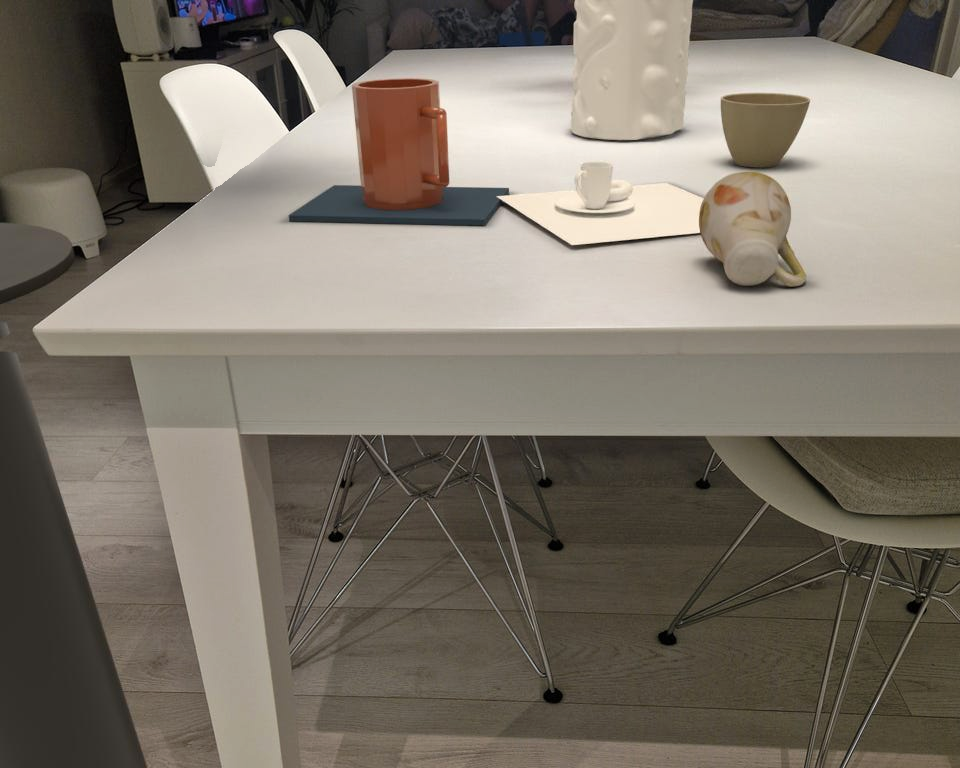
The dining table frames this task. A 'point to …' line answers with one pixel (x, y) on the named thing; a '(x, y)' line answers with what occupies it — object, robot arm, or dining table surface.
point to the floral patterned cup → (749, 229)
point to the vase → (630, 68)
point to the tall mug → (401, 143)
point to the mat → (453, 210)
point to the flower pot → (761, 126)
